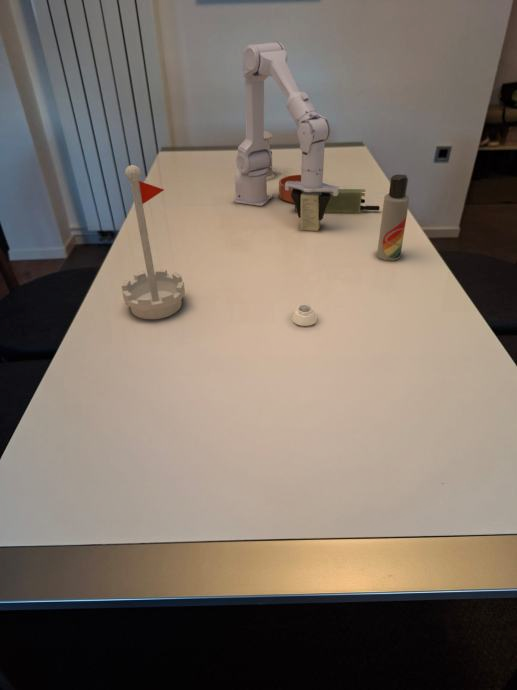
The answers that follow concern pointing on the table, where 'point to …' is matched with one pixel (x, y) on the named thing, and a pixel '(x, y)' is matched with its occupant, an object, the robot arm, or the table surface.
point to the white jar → (304, 315)
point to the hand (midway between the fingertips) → (310, 217)
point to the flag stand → (150, 265)
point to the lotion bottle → (393, 219)
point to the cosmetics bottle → (310, 211)
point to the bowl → (282, 192)
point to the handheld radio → (347, 202)
